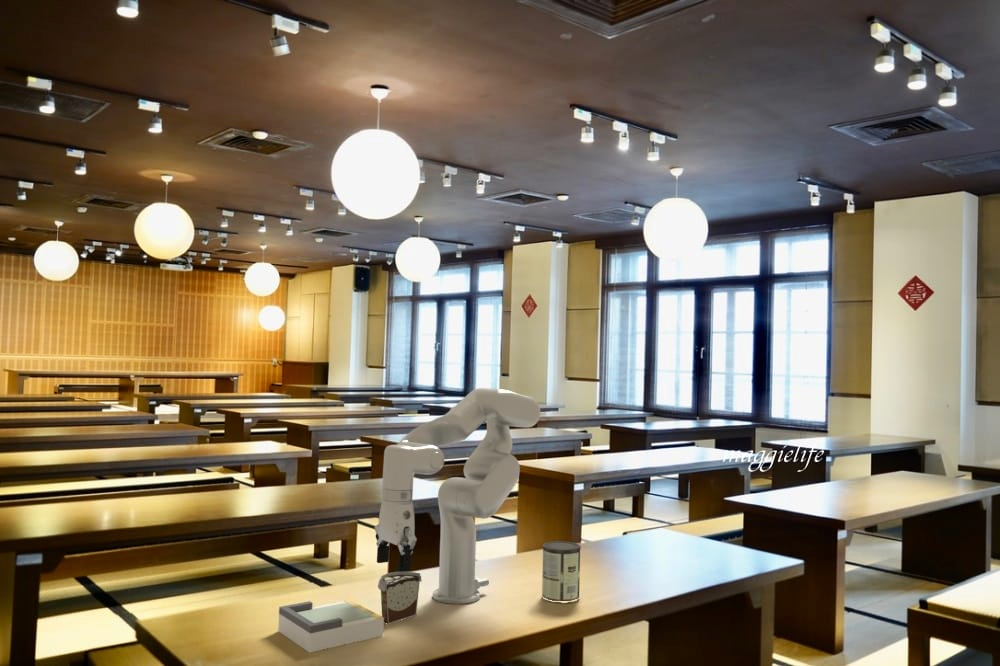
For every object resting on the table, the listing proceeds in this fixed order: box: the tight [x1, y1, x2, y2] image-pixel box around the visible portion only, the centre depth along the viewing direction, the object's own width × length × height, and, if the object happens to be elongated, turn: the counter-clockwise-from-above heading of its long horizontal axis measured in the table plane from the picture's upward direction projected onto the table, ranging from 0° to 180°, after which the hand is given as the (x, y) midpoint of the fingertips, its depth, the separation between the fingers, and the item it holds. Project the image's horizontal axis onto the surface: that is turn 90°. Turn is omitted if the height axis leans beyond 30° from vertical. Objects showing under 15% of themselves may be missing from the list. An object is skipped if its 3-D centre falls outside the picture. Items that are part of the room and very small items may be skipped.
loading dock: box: [277, 599, 385, 654], centre depth 176 cm, size 18×16×6 cm
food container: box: [377, 571, 422, 625], centre depth 189 cm, size 12×6×10 cm, turn 141°
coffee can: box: [541, 540, 582, 601], centre depth 209 cm, size 10×10×14 cm
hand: (393, 566), depth 189 cm, fingers open, 9 cm apart
